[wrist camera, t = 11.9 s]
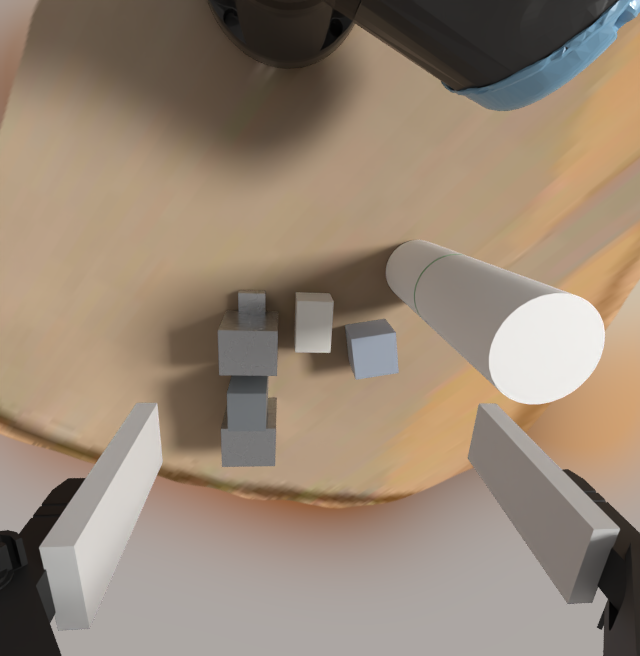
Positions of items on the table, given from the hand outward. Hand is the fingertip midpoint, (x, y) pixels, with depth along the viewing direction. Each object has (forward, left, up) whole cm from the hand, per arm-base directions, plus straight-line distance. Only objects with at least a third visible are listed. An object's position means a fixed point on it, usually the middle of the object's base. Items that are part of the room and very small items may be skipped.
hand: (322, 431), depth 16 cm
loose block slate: (+8, +9, -32) cm, 34 cm away
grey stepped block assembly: (+12, -5, -32) cm, 34 cm away
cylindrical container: (-1, +14, -32) cm, 35 cm away
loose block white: (+5, +2, -32) cm, 32 cm away
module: (+13, -5, -30) cm, 33 cm away
